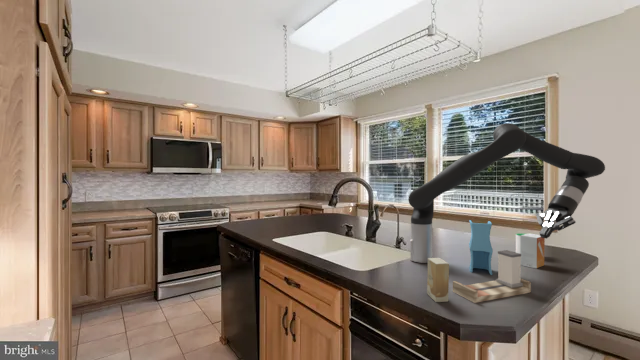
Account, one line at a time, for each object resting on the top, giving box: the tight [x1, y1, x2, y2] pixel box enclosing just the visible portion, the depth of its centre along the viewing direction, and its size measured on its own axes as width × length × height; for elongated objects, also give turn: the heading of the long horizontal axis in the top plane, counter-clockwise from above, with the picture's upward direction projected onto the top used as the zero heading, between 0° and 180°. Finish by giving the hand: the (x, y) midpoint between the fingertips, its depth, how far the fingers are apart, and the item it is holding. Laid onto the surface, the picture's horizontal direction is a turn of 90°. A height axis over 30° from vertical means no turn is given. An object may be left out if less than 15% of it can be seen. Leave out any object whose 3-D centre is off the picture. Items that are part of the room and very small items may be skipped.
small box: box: [520, 232, 546, 269], centre depth 125 cm, size 8×6×13 cm
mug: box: [515, 233, 525, 254], centre depth 138 cm, size 12×8×10 cm
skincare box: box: [426, 257, 450, 303], centre depth 93 cm, size 6×4×12 cm
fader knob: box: [495, 249, 523, 288], centre depth 100 cm, size 5×6×11 cm
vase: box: [468, 219, 494, 276], centre depth 118 cm, size 8×8×20 cm
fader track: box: [452, 278, 532, 304], centre depth 97 cm, size 24×9×4 cm, turn 108°
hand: (542, 236), depth 104 cm, fingers closed
